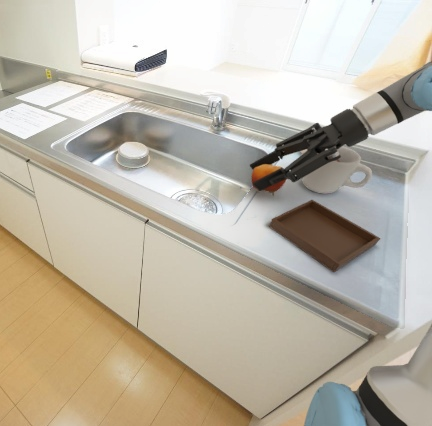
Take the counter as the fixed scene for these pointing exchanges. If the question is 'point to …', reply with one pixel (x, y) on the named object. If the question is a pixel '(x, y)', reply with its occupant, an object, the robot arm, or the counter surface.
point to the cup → (337, 173)
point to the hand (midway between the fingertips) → (254, 177)
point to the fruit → (264, 171)
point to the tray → (324, 234)
